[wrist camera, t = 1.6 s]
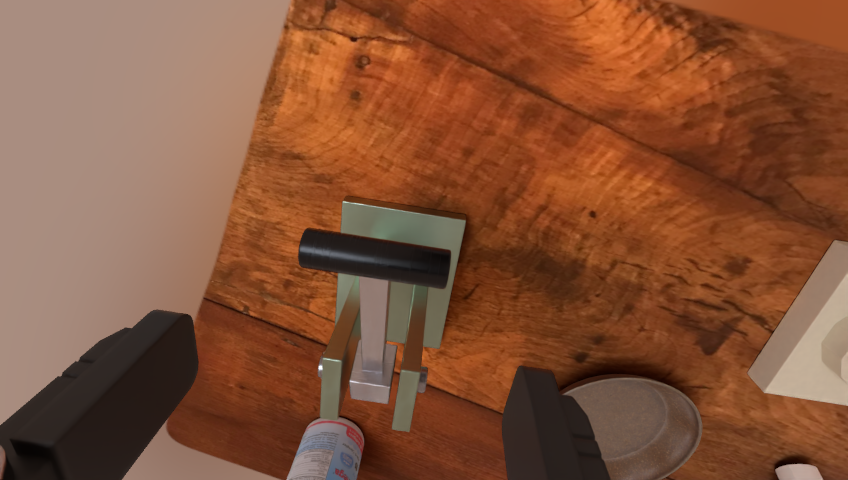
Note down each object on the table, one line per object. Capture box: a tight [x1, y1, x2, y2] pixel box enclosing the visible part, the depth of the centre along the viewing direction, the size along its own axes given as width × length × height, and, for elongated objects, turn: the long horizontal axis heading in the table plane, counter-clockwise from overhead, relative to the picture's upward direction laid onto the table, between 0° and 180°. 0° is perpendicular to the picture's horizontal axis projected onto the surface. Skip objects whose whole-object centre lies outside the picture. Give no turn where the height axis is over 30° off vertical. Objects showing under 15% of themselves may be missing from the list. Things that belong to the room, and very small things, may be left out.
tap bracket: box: [318, 196, 466, 432], centre depth 27 cm, size 12×9×13 cm
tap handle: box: [298, 228, 451, 404], centre depth 19 cm, size 13×5×2 cm, turn 172°
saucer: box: [559, 374, 702, 480], centre depth 37 cm, size 15×15×3 cm
